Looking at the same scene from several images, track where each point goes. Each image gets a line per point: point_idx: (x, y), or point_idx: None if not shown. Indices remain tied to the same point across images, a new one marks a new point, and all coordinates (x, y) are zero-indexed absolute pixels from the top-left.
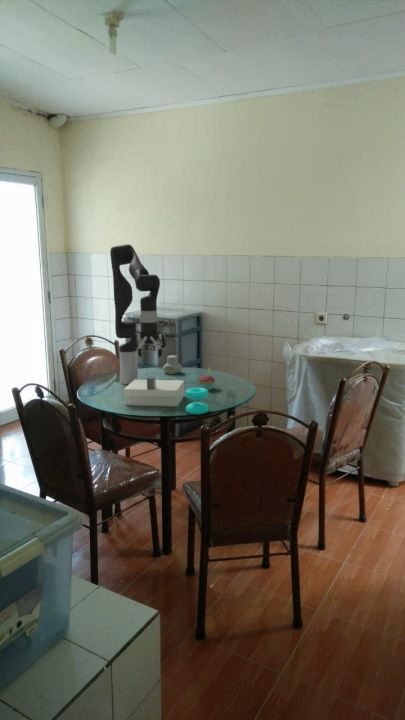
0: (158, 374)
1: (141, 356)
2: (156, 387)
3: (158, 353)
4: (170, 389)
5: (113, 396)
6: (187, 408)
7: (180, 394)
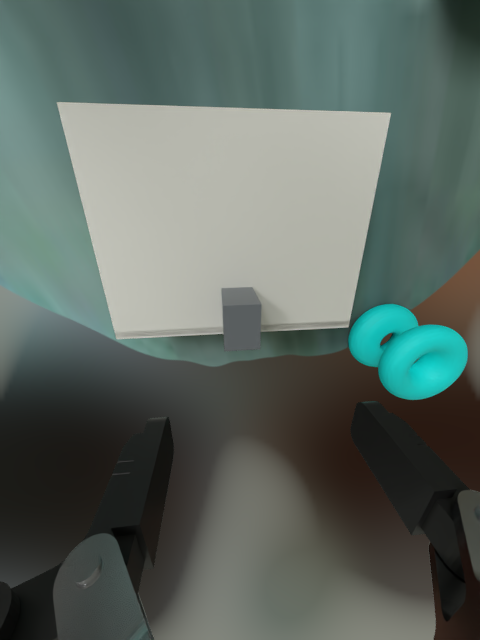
0: None
1: (172, 445)
2: (256, 289)
3: (376, 474)
4: (322, 314)
5: (11, 173)
6: (357, 357)
7: None
